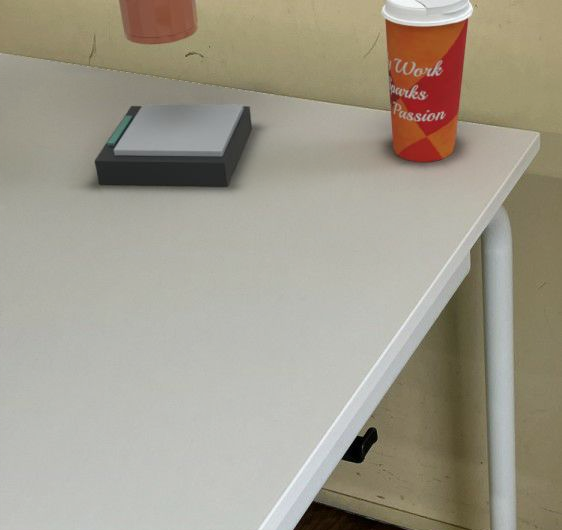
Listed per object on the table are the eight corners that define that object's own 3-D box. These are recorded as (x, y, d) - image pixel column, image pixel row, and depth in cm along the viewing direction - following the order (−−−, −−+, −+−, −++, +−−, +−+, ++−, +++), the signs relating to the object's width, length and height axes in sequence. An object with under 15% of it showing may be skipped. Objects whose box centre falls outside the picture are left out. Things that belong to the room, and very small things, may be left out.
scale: (98, 184, 92) (92, 154, 90) (134, 128, 101) (130, 99, 99) (227, 186, 90) (223, 155, 88) (252, 129, 99) (249, 99, 97)
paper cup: (364, 150, 94) (362, -3, 85) (420, 123, 97) (423, -26, 89) (428, 176, 89) (432, 16, 80) (484, 146, 93) (494, -9, 84)
